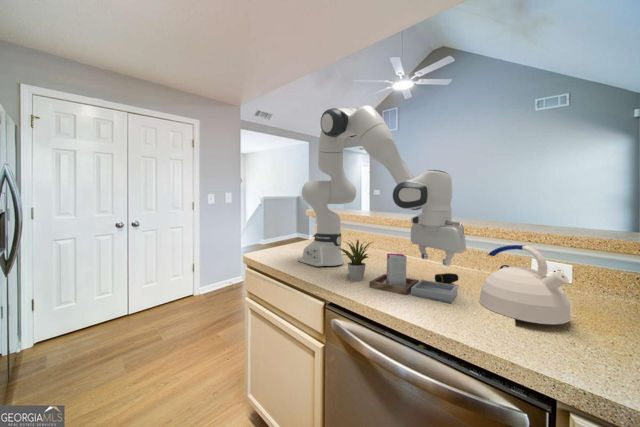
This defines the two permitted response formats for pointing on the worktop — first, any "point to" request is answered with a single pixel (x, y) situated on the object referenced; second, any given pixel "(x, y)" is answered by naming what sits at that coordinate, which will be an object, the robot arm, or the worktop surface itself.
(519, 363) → the worktop surface
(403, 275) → the supplement box
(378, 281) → the brown square frame
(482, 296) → the kettle
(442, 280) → the tape measure
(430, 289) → the grey tray
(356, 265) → the house plant
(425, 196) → the robot arm
